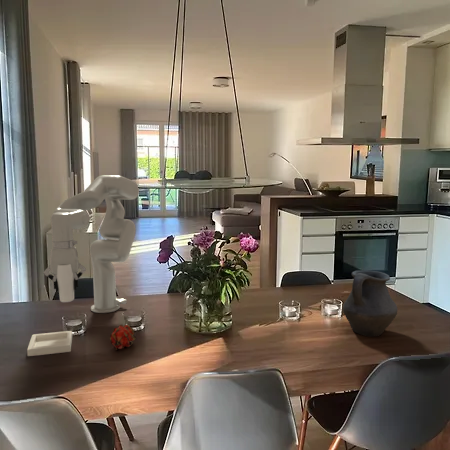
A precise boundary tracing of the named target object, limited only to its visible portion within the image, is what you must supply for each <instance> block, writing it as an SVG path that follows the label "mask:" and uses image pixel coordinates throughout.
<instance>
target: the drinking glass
mask: <svg viewBox="0 0 450 450" xmlns="http://www.w3.org/2000/svg"><path fill="white" fill-rule="evenodd" d="M57 283H58V293H59V294H58V295H59V301H60V302H61V303H70V302H72V301H74V300H75V290H74V276H73V273H72V268H71V264H69V265H58V268H57Z"/></svg>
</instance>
